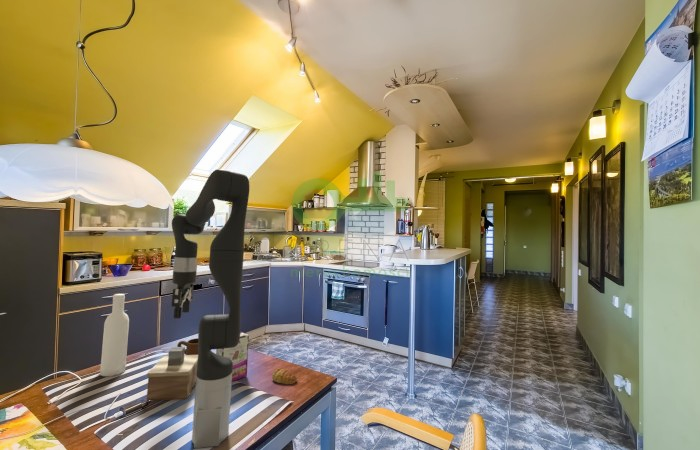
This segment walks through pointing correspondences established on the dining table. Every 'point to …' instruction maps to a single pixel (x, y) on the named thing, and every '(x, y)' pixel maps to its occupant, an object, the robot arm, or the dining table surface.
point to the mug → (190, 346)
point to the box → (171, 386)
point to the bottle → (115, 339)
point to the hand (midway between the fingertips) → (181, 315)
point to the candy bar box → (237, 357)
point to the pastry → (284, 376)
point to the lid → (174, 364)
